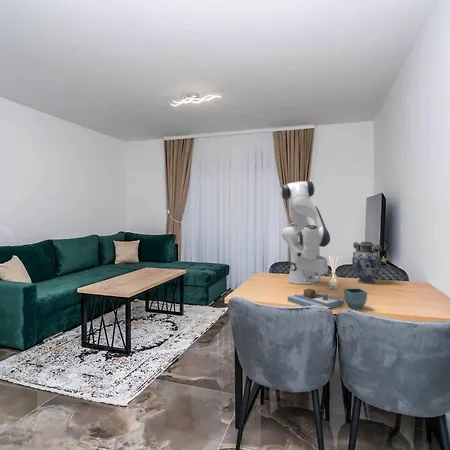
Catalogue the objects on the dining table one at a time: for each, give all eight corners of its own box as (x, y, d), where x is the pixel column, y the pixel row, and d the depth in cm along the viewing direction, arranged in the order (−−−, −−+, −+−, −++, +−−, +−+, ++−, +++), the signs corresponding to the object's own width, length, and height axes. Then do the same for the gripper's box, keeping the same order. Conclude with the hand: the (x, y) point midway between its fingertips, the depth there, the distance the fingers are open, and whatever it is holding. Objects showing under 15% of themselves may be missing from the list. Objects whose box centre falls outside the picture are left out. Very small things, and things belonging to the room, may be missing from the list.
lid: (324, 297, 179) (324, 291, 179) (337, 301, 172) (337, 295, 172) (312, 300, 174) (312, 294, 174) (326, 304, 167) (326, 298, 167)
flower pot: (343, 305, 175) (343, 288, 174) (358, 304, 175) (359, 288, 175) (350, 310, 166) (351, 292, 166) (367, 309, 167) (367, 292, 166)
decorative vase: (388, 282, 226) (388, 242, 225) (373, 286, 216) (373, 244, 214) (360, 277, 244) (360, 240, 243) (345, 281, 234) (345, 242, 232)
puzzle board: (312, 295, 193) (312, 290, 193) (343, 304, 175) (344, 298, 175) (287, 301, 182) (287, 295, 182) (318, 311, 164) (318, 304, 164)
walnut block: (309, 299, 185) (309, 288, 185) (315, 300, 182) (315, 290, 181) (303, 300, 183) (303, 289, 182) (309, 302, 179) (310, 291, 179)
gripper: (330, 256, 174) (330, 281, 175) (301, 251, 191) (301, 274, 192) (322, 257, 171) (322, 283, 172) (293, 252, 187) (294, 276, 188)
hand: (311, 278), depth 182 cm, fingers open, 8 cm apart
